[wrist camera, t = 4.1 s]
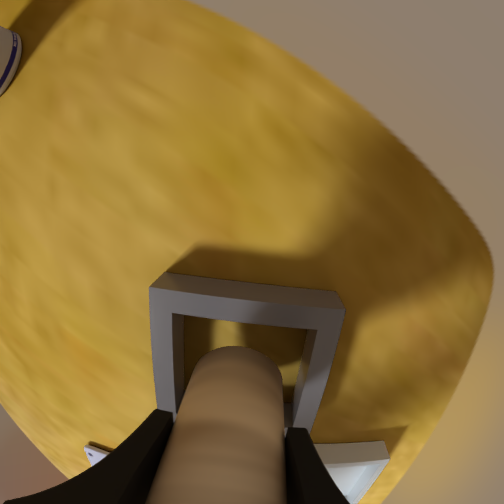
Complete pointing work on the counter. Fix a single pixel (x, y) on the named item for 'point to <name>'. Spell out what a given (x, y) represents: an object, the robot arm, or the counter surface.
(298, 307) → the gray square frame
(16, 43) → the energy drink
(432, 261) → the counter surface
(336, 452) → the tray
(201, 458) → the dowel pin
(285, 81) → the counter surface
